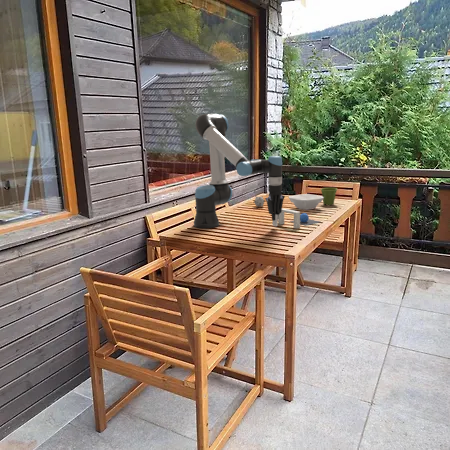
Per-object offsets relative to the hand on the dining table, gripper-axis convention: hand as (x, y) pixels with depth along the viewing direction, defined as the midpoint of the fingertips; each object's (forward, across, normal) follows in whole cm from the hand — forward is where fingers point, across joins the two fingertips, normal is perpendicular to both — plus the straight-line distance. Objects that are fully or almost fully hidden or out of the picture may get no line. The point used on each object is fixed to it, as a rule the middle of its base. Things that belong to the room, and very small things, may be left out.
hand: (275, 225), depth 234 cm
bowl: (+2, +54, +26) cm, 60 cm away
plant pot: (+2, +78, +26) cm, 82 cm away
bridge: (+2, +11, 0) cm, 11 cm away
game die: (+2, +36, +54) cm, 65 cm away
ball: (-1, +24, 0) cm, 24 cm away
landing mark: (+2, +25, 0) cm, 25 cm away
